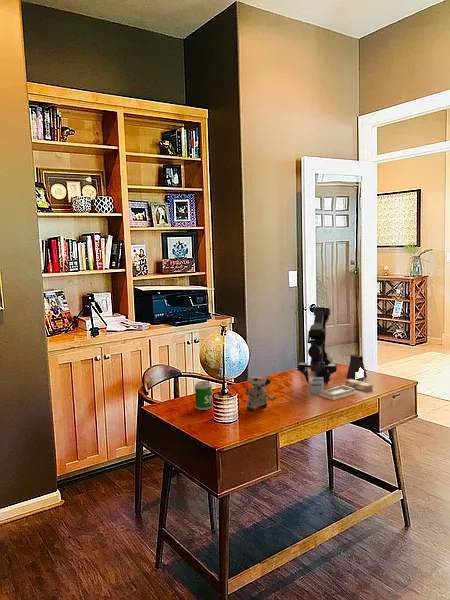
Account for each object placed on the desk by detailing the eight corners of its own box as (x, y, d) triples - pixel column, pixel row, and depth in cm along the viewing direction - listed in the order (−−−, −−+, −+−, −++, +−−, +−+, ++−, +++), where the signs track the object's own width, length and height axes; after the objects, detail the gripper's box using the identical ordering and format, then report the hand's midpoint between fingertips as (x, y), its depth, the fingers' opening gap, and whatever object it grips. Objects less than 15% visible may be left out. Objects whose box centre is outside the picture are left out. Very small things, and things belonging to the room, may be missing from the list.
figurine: (262, 415, 212) (261, 381, 211) (244, 409, 221) (243, 376, 219) (276, 409, 218) (276, 377, 216) (258, 404, 227) (257, 372, 225)
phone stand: (358, 374, 268) (357, 353, 267) (366, 377, 263) (366, 355, 262) (346, 377, 263) (346, 355, 262) (355, 380, 259) (355, 357, 257)
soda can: (200, 412, 219) (198, 386, 217) (193, 407, 225) (192, 382, 224) (215, 409, 222) (214, 383, 220) (208, 404, 229) (207, 379, 227)
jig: (333, 400, 228) (333, 395, 228) (318, 395, 236) (318, 390, 236) (356, 393, 236) (356, 388, 236) (340, 389, 244) (340, 384, 244)
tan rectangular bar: (345, 385, 251) (345, 380, 250) (351, 384, 253) (351, 378, 252) (366, 392, 239) (366, 386, 238) (372, 390, 241) (372, 384, 240)
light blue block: (313, 386, 251) (313, 376, 250) (323, 386, 250) (323, 377, 249) (311, 393, 240) (310, 383, 239) (321, 394, 238) (321, 384, 238)
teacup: (323, 376, 268) (323, 358, 267) (306, 370, 281) (305, 353, 280) (340, 372, 274) (340, 354, 273) (322, 366, 287) (322, 350, 286)
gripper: (295, 356, 237) (296, 388, 239) (335, 357, 232) (335, 390, 234) (298, 351, 248) (299, 381, 250) (336, 352, 243) (337, 383, 245)
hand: (317, 384), depth 244 cm, fingers open, 9 cm apart
